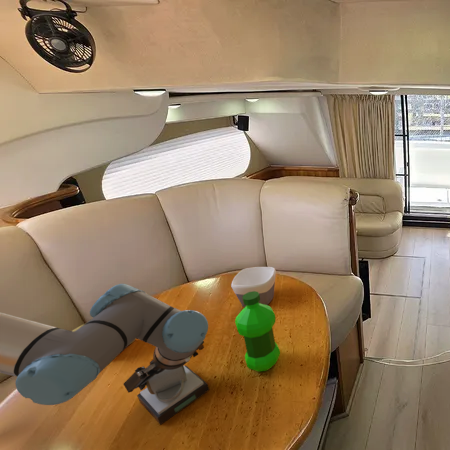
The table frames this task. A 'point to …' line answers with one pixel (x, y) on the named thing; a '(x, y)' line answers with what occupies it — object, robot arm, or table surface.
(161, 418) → the scale
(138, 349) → the table surface
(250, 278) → the bowl
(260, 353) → the plastic bottle
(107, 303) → the robot arm
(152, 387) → the ceramic mug
